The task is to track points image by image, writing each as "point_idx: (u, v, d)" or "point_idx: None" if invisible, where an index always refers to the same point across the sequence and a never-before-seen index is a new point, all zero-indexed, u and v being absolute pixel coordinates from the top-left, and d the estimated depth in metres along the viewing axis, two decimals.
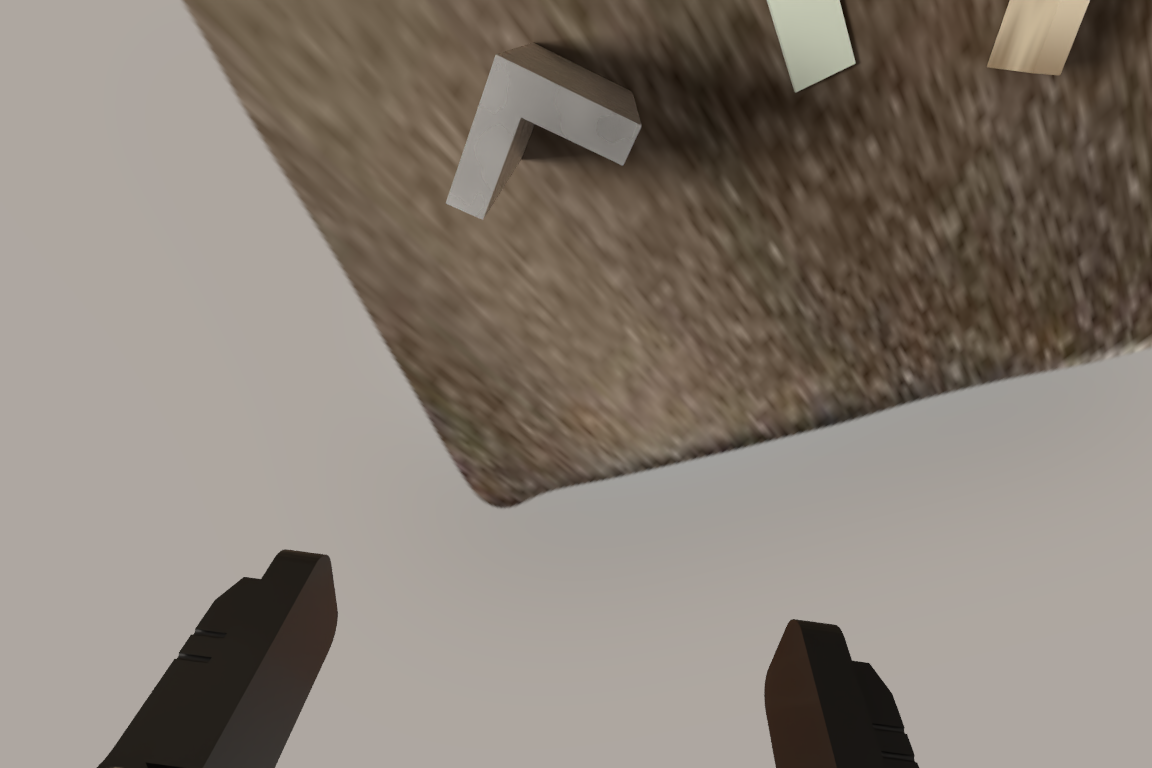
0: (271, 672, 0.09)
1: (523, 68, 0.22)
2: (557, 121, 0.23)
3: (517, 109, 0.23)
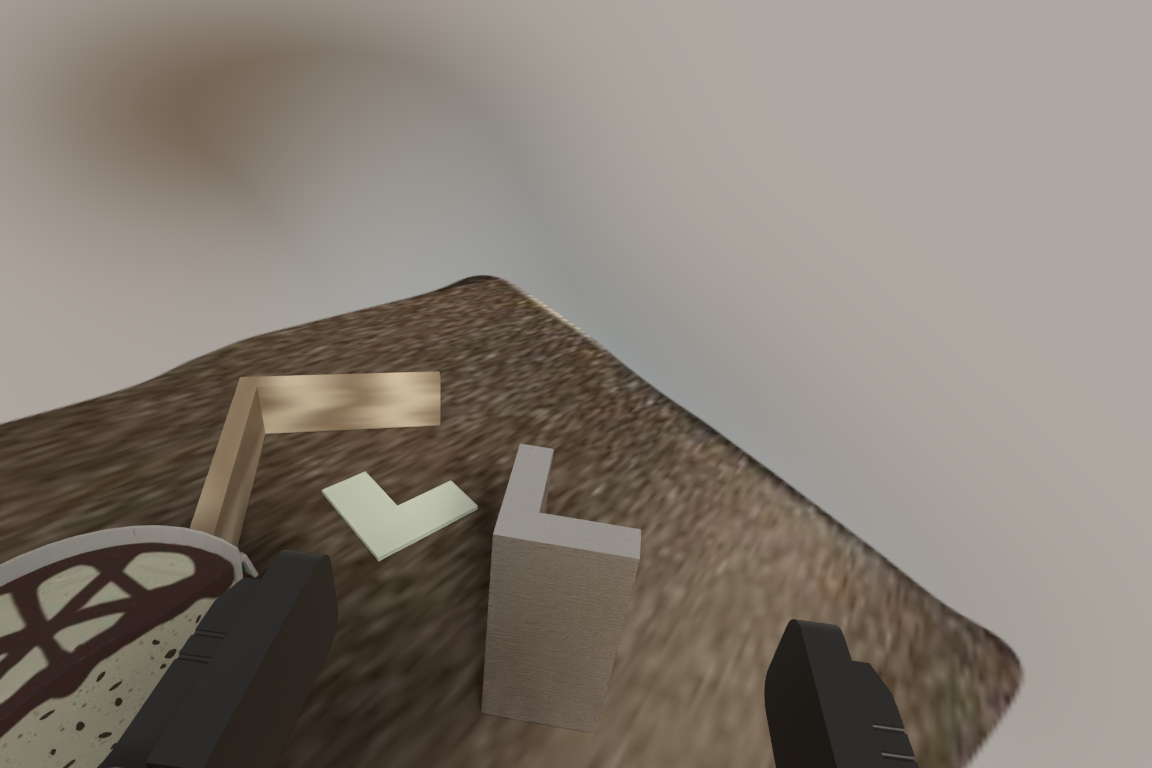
0: (271, 672, 0.09)
1: (499, 516, 0.25)
2: (534, 489, 0.26)
3: (533, 515, 0.25)
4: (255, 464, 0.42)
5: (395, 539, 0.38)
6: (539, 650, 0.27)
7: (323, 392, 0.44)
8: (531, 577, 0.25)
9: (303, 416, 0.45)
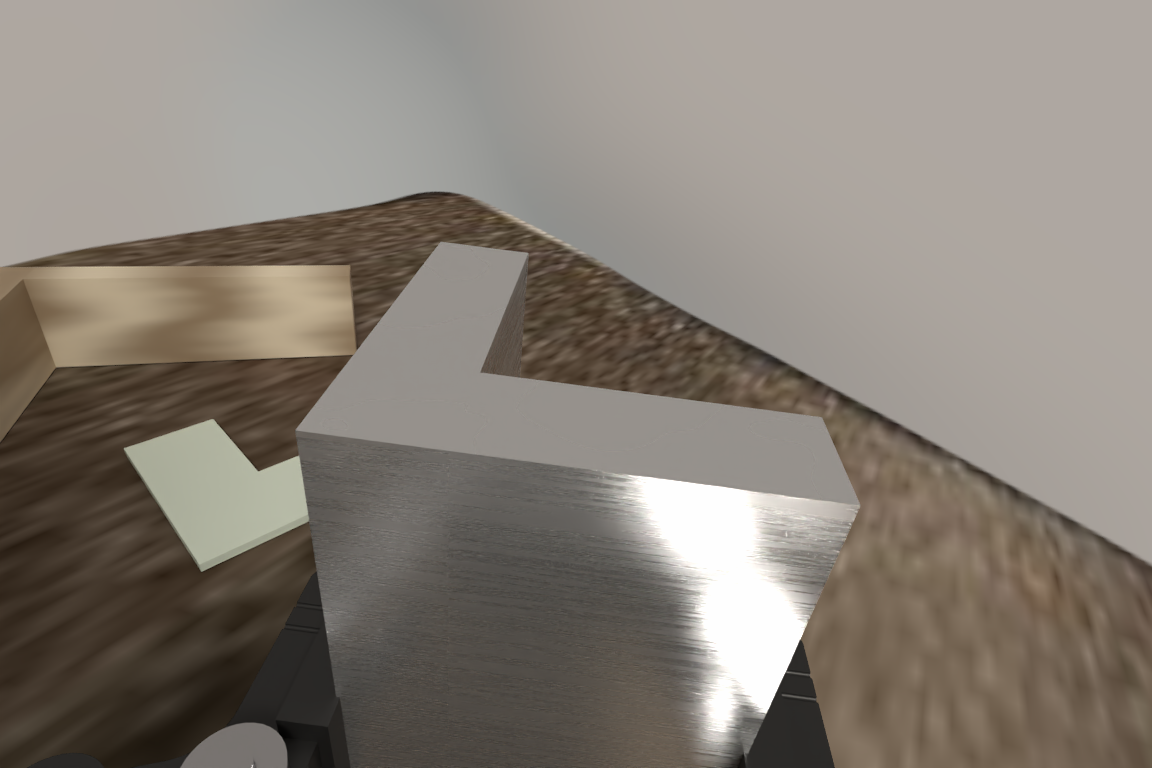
0: None
1: (338, 381, 0.07)
2: (468, 322, 0.09)
3: (459, 379, 0.07)
4: (12, 409, 0.24)
5: (241, 530, 0.20)
6: None
7: (148, 293, 0.26)
8: (457, 591, 0.07)
9: (118, 336, 0.27)
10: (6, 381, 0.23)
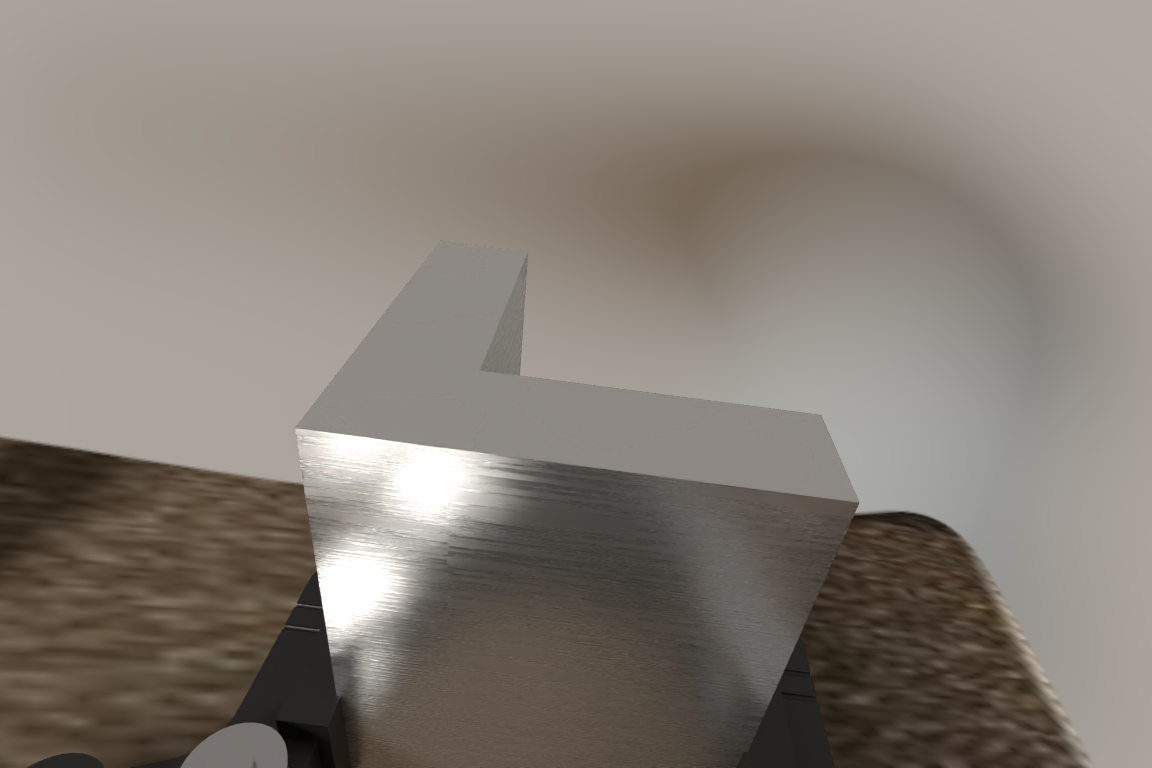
0: None
1: (338, 380, 0.07)
2: (468, 320, 0.09)
3: (457, 376, 0.07)
4: None
5: None
6: None
7: None
8: (457, 589, 0.07)
9: None
10: None
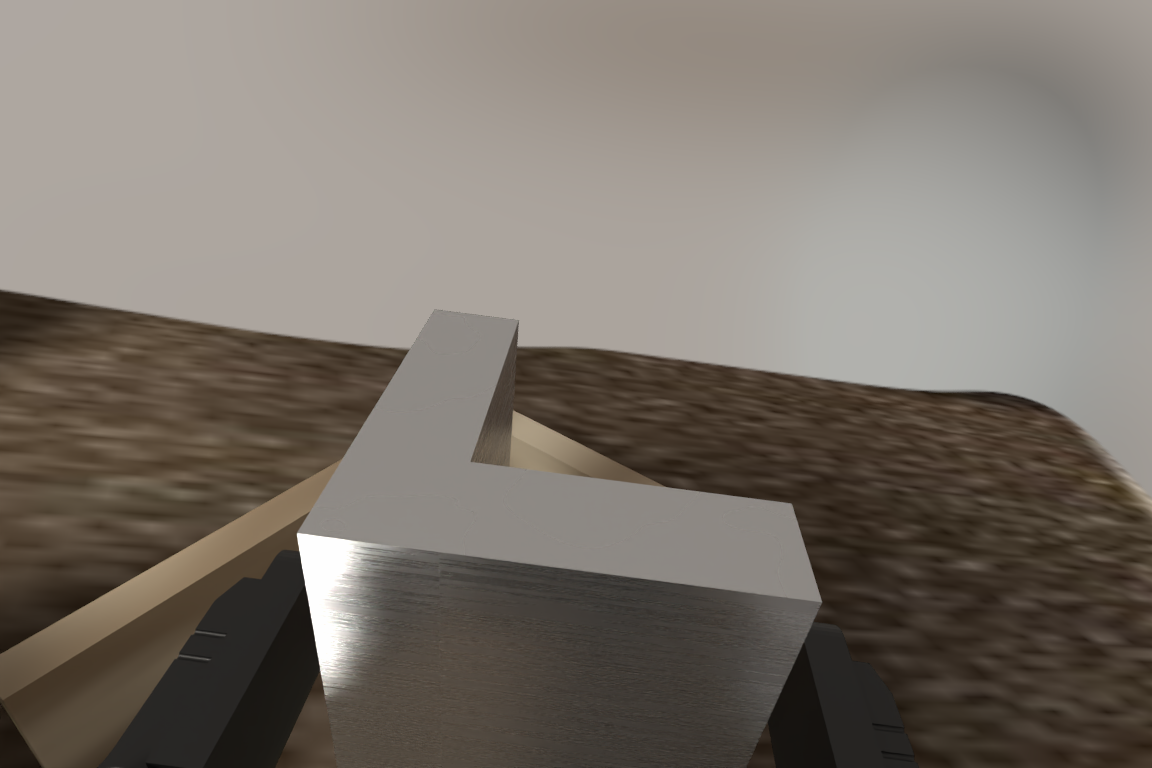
0: (270, 672, 0.09)
1: (336, 475, 0.08)
2: (460, 404, 0.09)
3: (449, 470, 0.08)
4: None
5: None
6: None
7: None
8: (449, 670, 0.08)
9: None
10: None
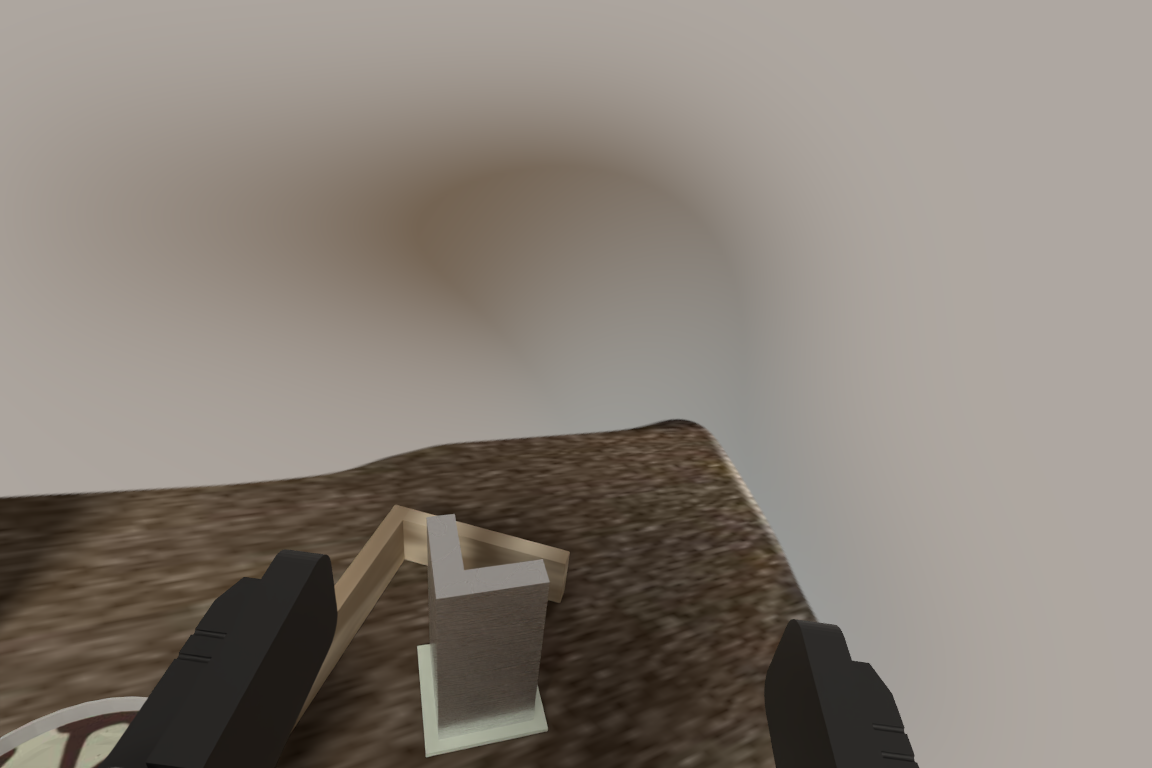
0: (271, 672, 0.09)
1: (434, 583, 0.31)
2: (453, 552, 0.33)
3: (460, 573, 0.32)
4: (378, 594, 0.44)
5: (450, 738, 0.37)
6: (481, 673, 0.34)
7: None
8: (469, 621, 0.32)
9: None
10: (379, 580, 0.44)
